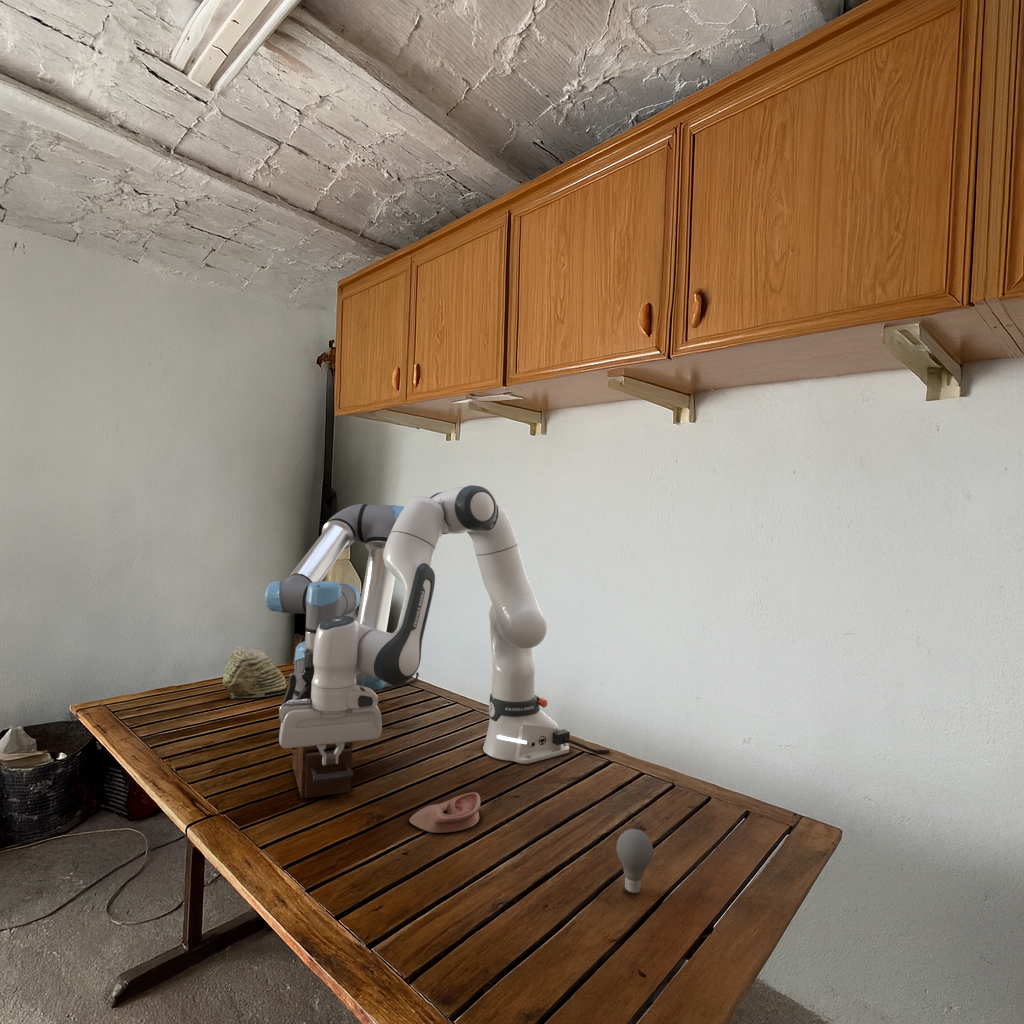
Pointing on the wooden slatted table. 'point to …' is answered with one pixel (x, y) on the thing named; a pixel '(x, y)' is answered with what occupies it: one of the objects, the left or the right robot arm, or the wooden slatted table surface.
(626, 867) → the light bulb
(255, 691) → the fossil
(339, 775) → the drawer
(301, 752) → the brown box
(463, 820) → the anatomical model
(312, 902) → the wooden slatted table surface
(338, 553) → the left robot arm
